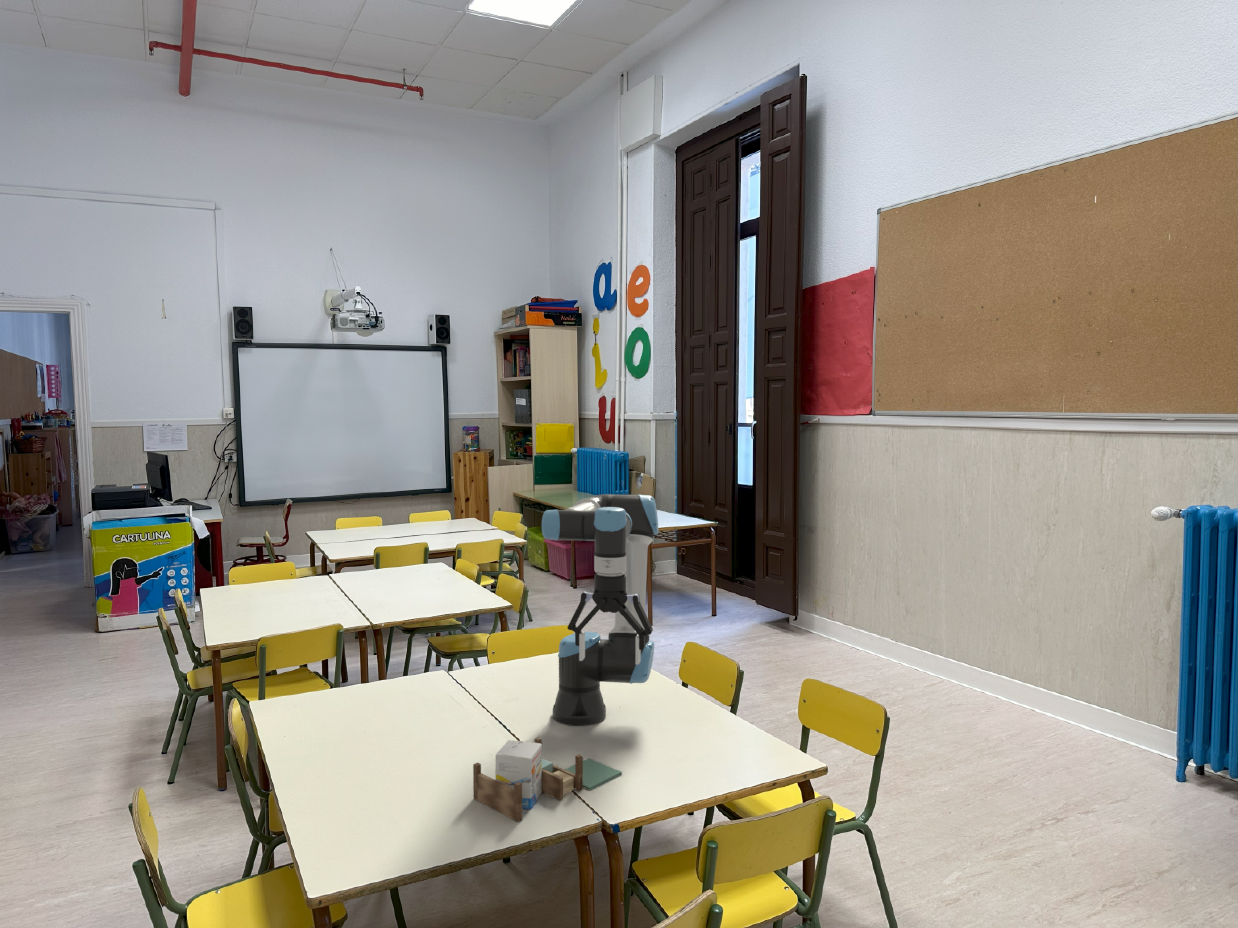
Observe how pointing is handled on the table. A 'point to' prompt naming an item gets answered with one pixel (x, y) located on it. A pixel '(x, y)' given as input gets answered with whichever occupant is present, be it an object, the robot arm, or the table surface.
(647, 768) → the table surface
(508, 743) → the ink box
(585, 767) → the mat
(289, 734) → the table surface
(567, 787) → the offcut
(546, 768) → the offcut
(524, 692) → the table surface
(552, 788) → the rack
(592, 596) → the robot arm
